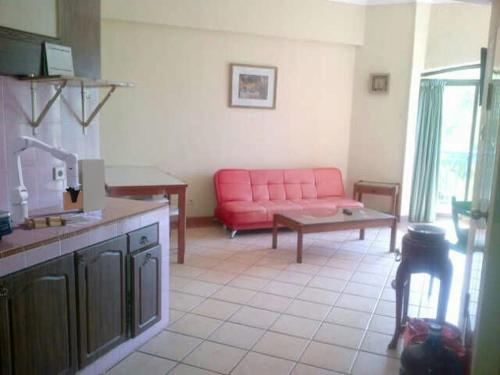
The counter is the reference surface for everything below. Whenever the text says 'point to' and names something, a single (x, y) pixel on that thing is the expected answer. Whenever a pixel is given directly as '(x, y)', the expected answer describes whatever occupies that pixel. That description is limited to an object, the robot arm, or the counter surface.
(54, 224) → the offcut
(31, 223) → the rack
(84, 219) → the mat
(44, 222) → the offcut
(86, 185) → the grey tall block
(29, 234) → the counter surface
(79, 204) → the panel
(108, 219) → the counter surface
